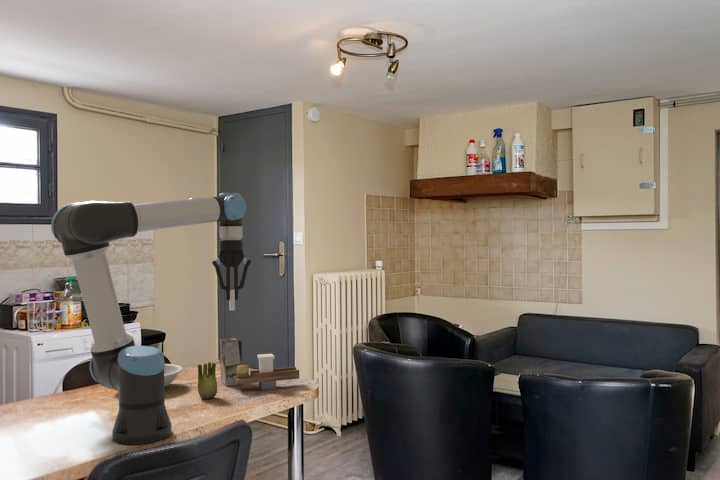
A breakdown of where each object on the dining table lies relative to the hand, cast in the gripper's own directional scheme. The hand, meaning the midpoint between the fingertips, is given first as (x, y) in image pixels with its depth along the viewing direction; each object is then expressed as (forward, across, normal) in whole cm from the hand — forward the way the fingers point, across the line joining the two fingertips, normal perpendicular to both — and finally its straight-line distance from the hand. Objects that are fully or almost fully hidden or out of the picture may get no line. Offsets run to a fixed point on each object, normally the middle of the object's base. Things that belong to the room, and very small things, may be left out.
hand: (232, 309), depth 199 cm
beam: (+29, -13, -9) cm, 33 cm away
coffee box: (+30, -2, -22) cm, 37 cm away
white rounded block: (+25, -13, -9) cm, 29 cm away
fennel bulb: (+30, +8, -3) cm, 31 cm away
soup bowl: (+30, +27, -24) cm, 47 cm away
